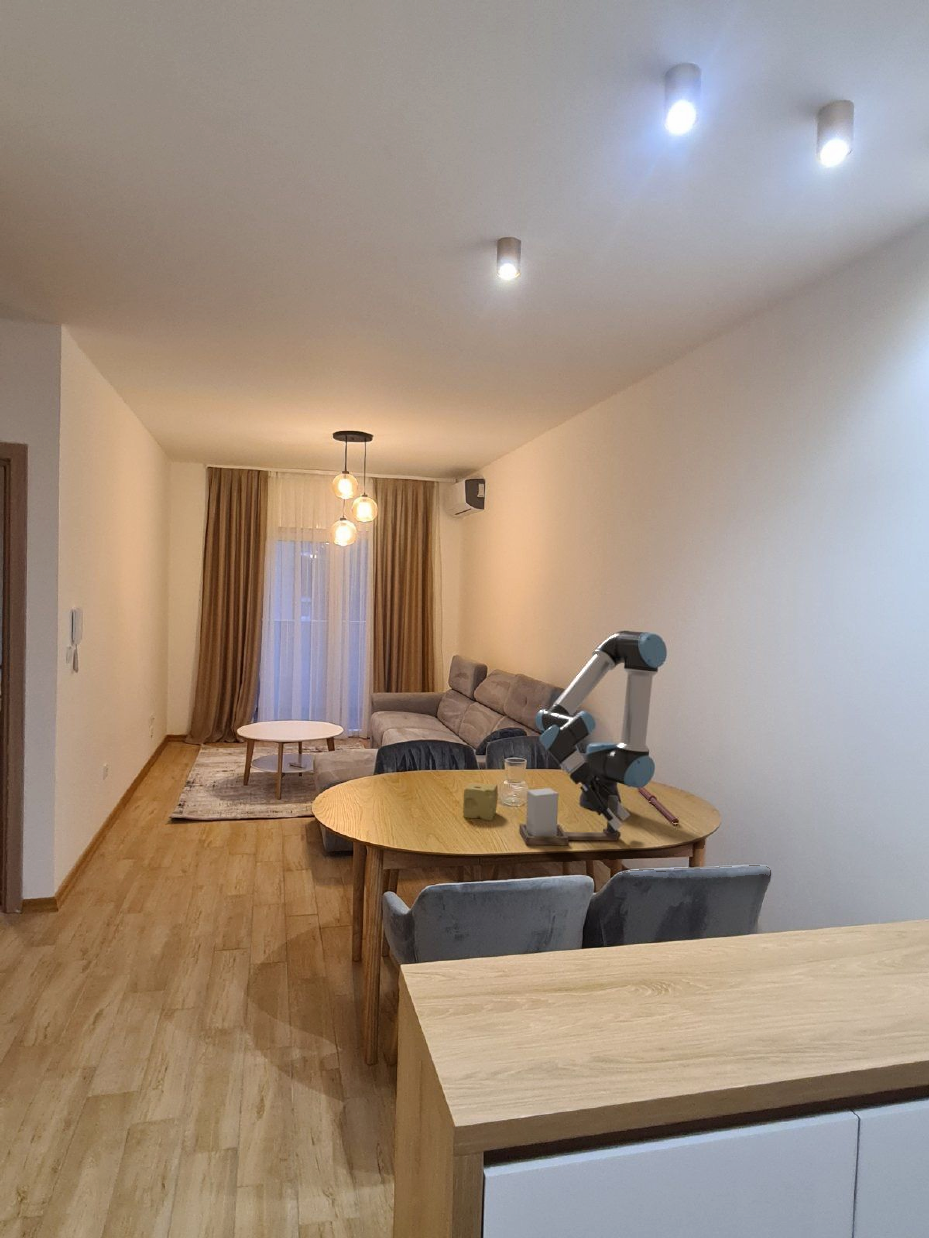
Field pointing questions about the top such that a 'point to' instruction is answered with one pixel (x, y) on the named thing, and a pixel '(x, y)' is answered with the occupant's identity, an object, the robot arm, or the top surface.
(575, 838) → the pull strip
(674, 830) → the top surface
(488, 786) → the cheese
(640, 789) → the reddish-brown rod
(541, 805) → the skincare box
